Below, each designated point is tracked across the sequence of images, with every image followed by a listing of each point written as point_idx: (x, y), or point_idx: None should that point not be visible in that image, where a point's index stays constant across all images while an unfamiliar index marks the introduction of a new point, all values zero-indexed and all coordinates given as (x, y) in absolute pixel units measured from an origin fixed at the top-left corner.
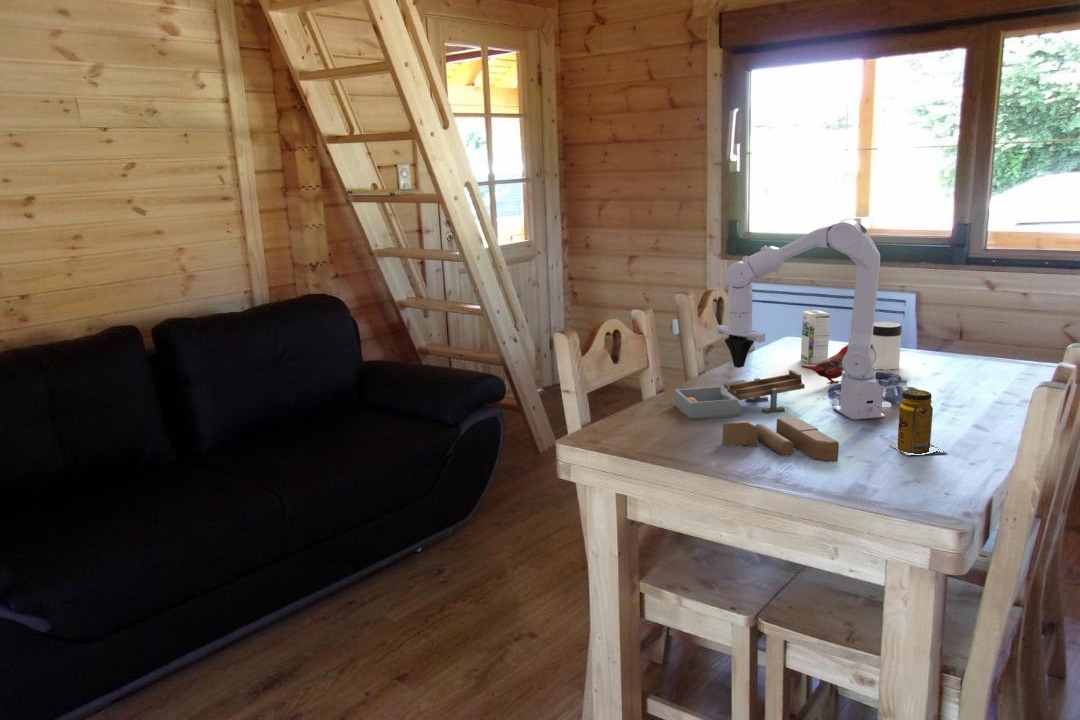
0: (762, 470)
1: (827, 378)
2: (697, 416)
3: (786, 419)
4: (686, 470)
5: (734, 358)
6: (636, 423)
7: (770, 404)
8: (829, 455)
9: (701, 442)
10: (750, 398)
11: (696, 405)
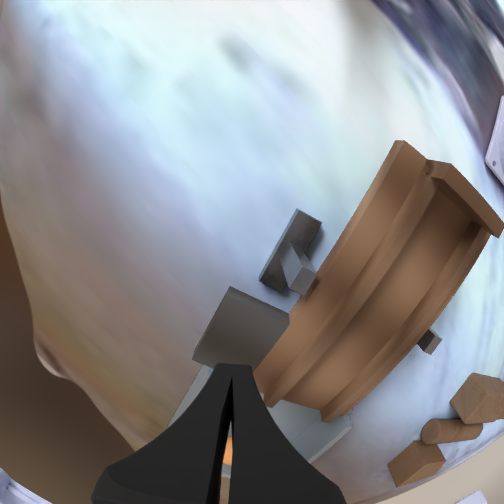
0: (452, 455)
1: None
2: None
3: (479, 415)
4: (386, 498)
5: (225, 444)
6: (222, 492)
7: None
8: None
9: (360, 478)
10: (283, 282)
11: None
